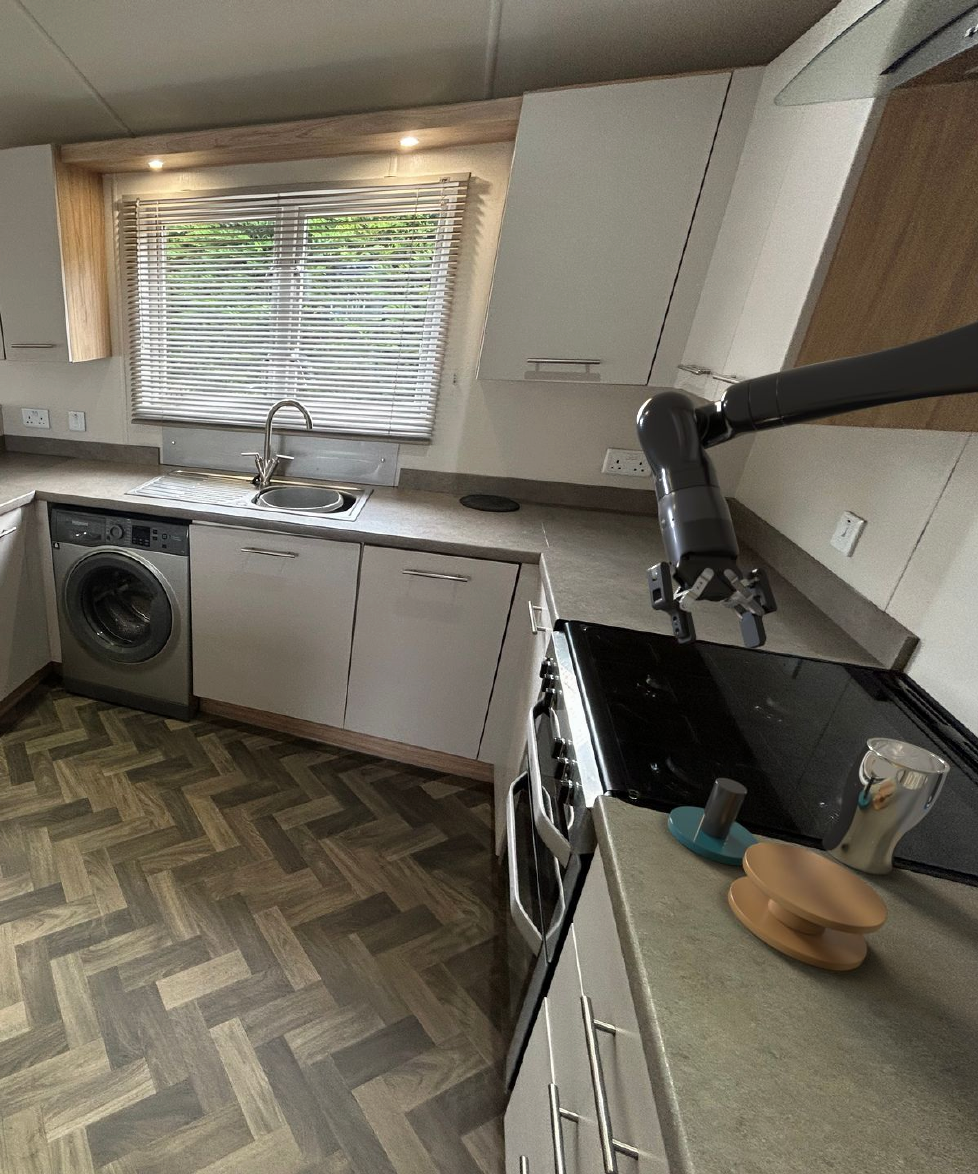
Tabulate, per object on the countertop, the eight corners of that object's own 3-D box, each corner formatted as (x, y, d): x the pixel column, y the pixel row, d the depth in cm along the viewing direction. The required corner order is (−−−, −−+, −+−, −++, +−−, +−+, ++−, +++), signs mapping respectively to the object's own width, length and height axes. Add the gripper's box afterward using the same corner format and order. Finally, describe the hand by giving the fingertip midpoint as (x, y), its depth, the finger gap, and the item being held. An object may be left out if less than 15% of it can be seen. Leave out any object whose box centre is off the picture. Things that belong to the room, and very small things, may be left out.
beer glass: (809, 827, 81) (855, 729, 76) (883, 848, 78) (937, 748, 73) (825, 862, 76) (876, 760, 70) (905, 887, 72) (965, 781, 67)
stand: (809, 888, 72) (829, 848, 70) (894, 978, 62) (921, 933, 60) (705, 877, 74) (721, 837, 71) (772, 962, 63) (793, 919, 61)
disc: (726, 817, 83) (747, 766, 80) (774, 869, 75) (800, 815, 72) (653, 810, 84) (670, 759, 81) (692, 861, 76) (714, 806, 73)
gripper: (662, 512, 81) (687, 633, 75) (773, 519, 81) (806, 641, 75) (624, 536, 88) (644, 648, 83) (726, 542, 88) (753, 655, 82)
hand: (721, 644), depth 79 cm, fingers open, 8 cm apart
